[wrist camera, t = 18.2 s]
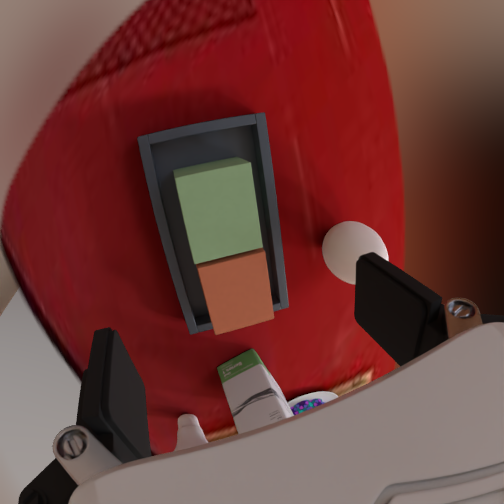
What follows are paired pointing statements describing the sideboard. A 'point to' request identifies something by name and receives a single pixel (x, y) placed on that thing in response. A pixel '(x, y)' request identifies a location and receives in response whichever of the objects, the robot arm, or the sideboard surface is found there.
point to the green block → (219, 208)
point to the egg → (350, 248)
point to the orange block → (237, 290)
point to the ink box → (252, 392)
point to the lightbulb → (189, 432)
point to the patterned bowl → (310, 401)
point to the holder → (169, 210)
